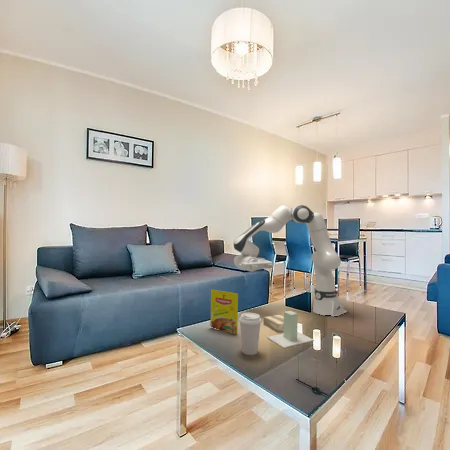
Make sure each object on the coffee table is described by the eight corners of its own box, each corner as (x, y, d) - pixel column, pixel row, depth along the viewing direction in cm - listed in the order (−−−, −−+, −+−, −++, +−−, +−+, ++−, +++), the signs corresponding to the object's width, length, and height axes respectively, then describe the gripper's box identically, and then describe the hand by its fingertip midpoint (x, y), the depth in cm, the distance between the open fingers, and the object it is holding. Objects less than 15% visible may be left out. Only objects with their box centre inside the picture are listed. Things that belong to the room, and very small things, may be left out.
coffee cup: (234, 348, 112) (235, 313, 113) (253, 344, 116) (254, 311, 116) (244, 358, 104) (245, 320, 104) (265, 354, 107) (266, 317, 108)
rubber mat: (295, 331, 132) (295, 330, 132) (313, 340, 122) (313, 339, 122) (266, 337, 124) (266, 336, 124) (283, 348, 113) (283, 347, 113)
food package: (209, 328, 134) (210, 289, 134) (210, 327, 135) (211, 289, 135) (236, 334, 127) (237, 293, 127) (237, 334, 128) (238, 293, 128)
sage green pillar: (289, 335, 126) (290, 310, 126) (297, 339, 122) (297, 313, 122) (283, 337, 124) (283, 311, 124) (290, 341, 120) (291, 314, 120)
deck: (280, 321, 147) (280, 314, 147) (295, 328, 136) (296, 321, 136) (263, 324, 141) (263, 317, 141) (277, 332, 131) (277, 324, 131)
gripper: (236, 259, 155) (249, 262, 143) (264, 258, 165) (278, 260, 153) (236, 270, 155) (249, 273, 143) (264, 268, 165) (278, 271, 152)
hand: (264, 267), depth 148 cm, fingers open, 8 cm apart
